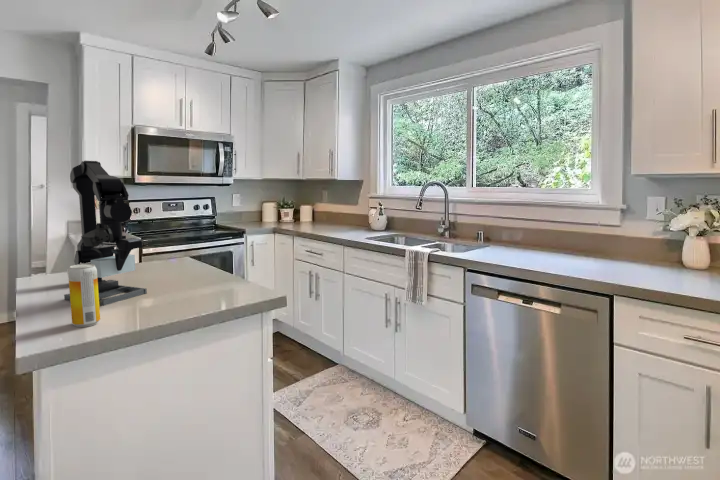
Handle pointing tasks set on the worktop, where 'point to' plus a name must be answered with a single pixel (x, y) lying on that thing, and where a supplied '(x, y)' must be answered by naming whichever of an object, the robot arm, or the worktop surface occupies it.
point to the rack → (114, 292)
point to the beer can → (84, 295)
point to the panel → (112, 266)
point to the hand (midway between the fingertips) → (114, 270)
